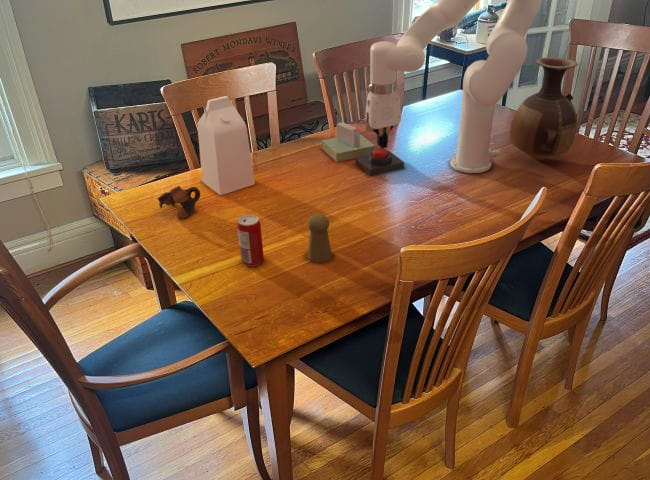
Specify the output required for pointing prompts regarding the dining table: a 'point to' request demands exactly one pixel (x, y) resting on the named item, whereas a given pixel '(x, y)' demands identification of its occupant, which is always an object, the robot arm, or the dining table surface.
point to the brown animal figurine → (181, 199)
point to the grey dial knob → (348, 134)
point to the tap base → (346, 149)
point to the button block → (379, 163)
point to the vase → (546, 115)
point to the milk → (224, 148)
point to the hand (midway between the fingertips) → (382, 146)
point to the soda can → (250, 240)
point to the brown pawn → (319, 239)
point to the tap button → (380, 152)
